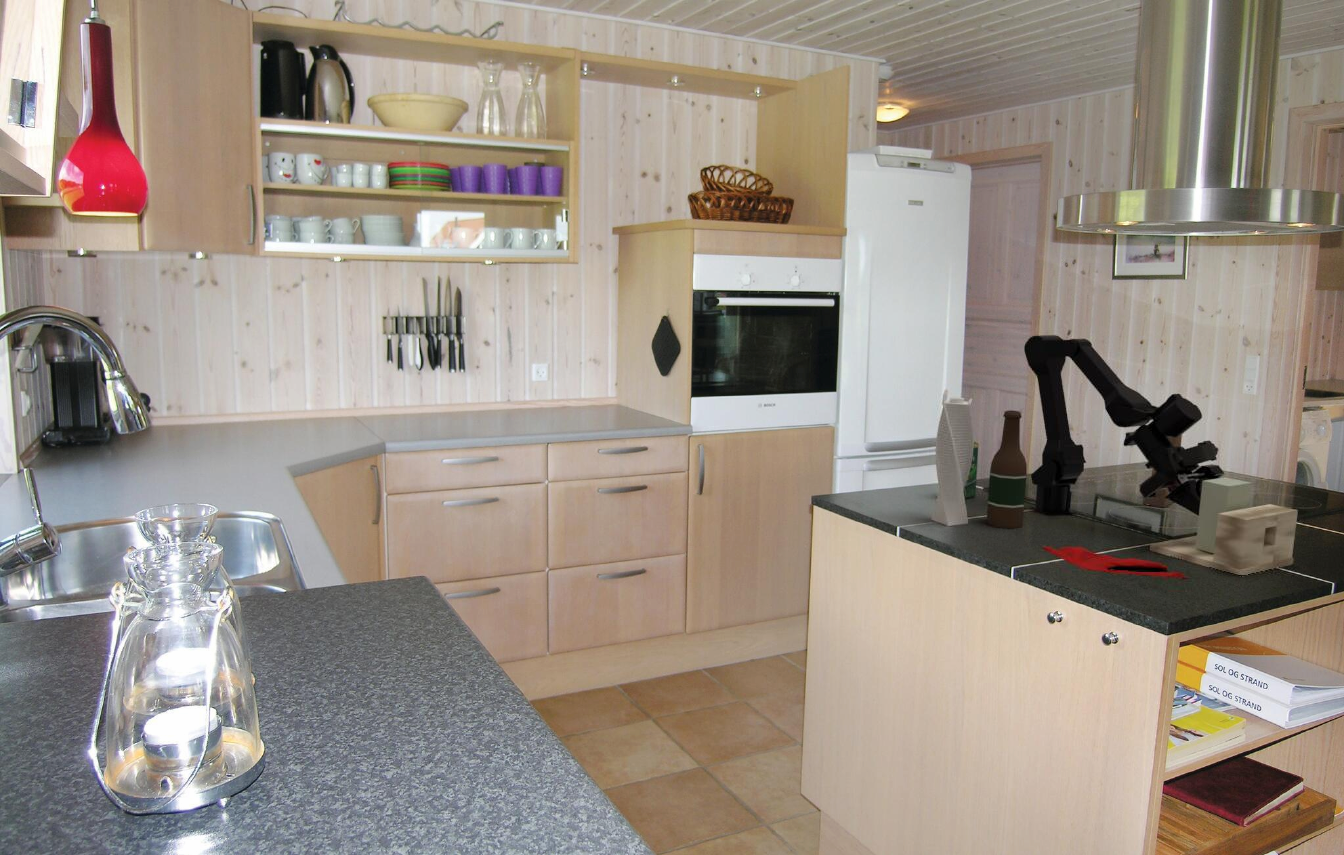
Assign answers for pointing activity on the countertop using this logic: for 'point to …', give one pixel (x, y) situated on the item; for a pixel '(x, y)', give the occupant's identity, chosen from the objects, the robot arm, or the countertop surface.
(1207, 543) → the block
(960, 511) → the skyscraper
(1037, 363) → the robot arm
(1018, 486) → the beer bottle
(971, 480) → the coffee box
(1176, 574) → the cloth
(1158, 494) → the wooden block
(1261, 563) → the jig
